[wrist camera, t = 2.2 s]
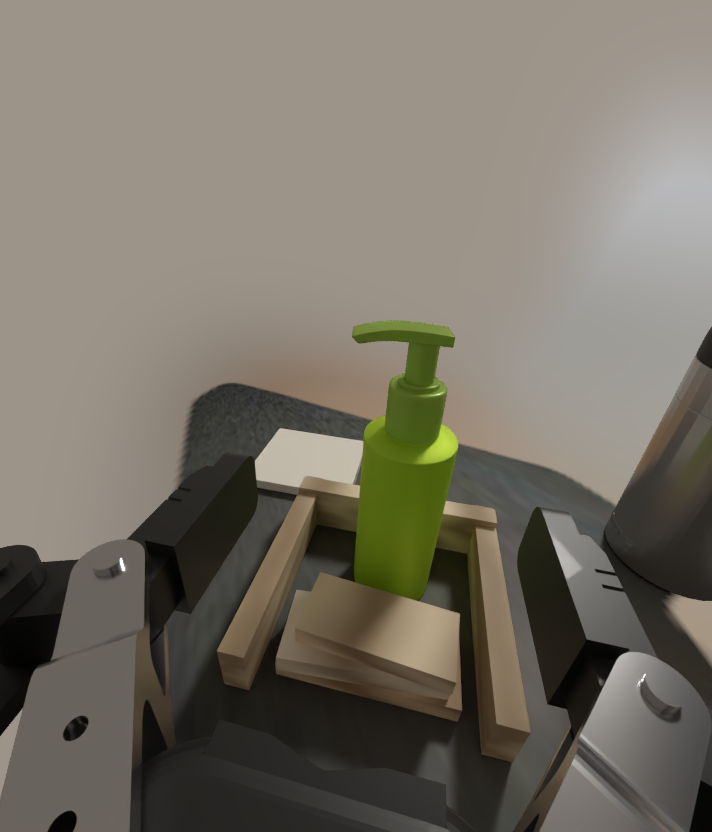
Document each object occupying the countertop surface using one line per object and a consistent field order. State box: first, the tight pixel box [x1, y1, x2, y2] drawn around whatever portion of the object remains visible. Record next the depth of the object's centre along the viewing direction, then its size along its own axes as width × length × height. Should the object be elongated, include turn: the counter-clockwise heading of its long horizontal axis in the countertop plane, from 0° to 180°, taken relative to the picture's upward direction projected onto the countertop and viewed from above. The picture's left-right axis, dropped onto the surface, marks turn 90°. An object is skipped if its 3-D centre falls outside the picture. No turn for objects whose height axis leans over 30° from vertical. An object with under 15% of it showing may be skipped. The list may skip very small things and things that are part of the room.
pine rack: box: [217, 476, 531, 762], centre depth 27 cm, size 17×16×4 cm
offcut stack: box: [275, 572, 462, 722], centre depth 23 cm, size 11×5×4 cm, turn 78°
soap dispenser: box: [352, 321, 458, 601], centre depth 25 cm, size 6×7×20 cm
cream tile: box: [255, 428, 363, 495], centre depth 41 cm, size 11×10×1 cm
